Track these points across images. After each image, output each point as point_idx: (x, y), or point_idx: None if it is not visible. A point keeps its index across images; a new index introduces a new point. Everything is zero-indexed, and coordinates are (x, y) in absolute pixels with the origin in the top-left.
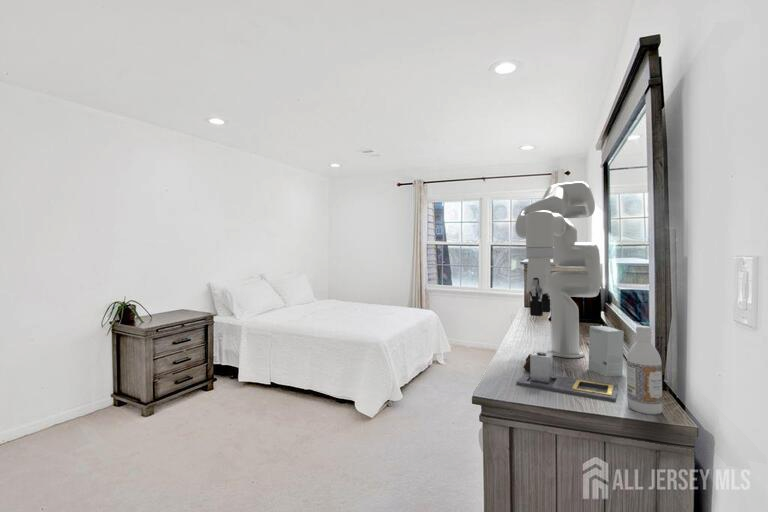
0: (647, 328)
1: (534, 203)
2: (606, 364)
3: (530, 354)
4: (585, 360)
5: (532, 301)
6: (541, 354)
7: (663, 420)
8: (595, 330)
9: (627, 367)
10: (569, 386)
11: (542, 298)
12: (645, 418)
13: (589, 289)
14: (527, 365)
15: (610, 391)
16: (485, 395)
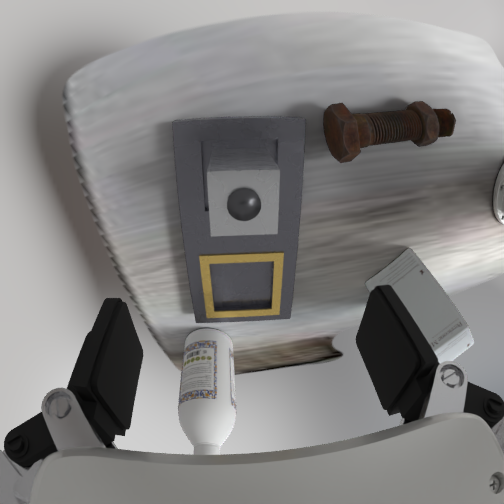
0: None
1: None
2: None
3: (431, 118)
4: (483, 229)
5: (64, 397)
6: (227, 209)
7: (178, 357)
8: (444, 336)
9: (196, 386)
10: (219, 247)
11: (410, 386)
12: (169, 343)
13: None
14: (333, 117)
15: (230, 315)
16: (78, 85)
